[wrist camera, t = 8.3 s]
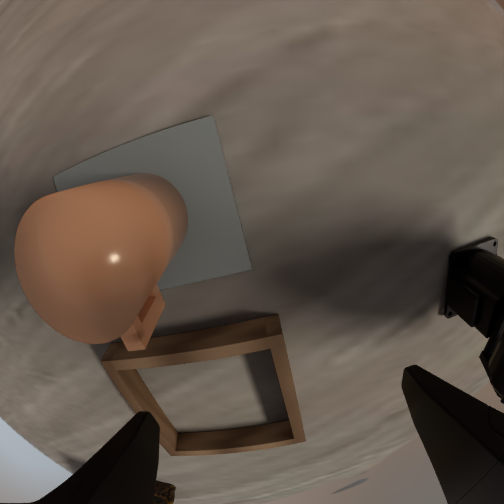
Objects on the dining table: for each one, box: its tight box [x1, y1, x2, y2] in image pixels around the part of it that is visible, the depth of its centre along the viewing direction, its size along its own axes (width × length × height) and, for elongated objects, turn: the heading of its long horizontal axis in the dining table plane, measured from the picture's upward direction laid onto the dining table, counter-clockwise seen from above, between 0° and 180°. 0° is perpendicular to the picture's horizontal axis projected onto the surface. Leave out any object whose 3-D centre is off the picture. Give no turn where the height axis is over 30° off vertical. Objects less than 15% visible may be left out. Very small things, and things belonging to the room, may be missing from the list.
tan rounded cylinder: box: [14, 173, 188, 351], centre depth 13 cm, size 6×8×9 cm
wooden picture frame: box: [101, 314, 306, 456], centre depth 22 cm, size 14×14×2 cm
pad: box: [53, 115, 252, 290], centre depth 17 cm, size 12×10×1 cm
